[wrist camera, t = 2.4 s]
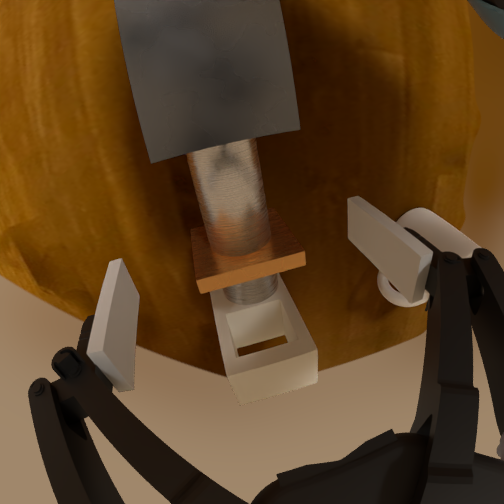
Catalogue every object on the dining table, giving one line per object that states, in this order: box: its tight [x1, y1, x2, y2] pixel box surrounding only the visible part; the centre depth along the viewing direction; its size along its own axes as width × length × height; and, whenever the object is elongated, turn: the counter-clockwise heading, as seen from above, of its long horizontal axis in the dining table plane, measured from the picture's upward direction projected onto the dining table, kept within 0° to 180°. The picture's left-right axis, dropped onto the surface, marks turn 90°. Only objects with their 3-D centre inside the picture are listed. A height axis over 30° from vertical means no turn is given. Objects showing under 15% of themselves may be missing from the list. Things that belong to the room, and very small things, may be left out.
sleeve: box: [114, 0, 300, 164], centre depth 15 cm, size 10×7×11 cm
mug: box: [377, 208, 481, 307], centre depth 29 cm, size 12×8×10 cm
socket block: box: [210, 273, 318, 405], centre depth 27 cm, size 5×7×12 cm
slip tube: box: [186, 138, 306, 305], centre depth 16 cm, size 20×6×6 cm, turn 10°
